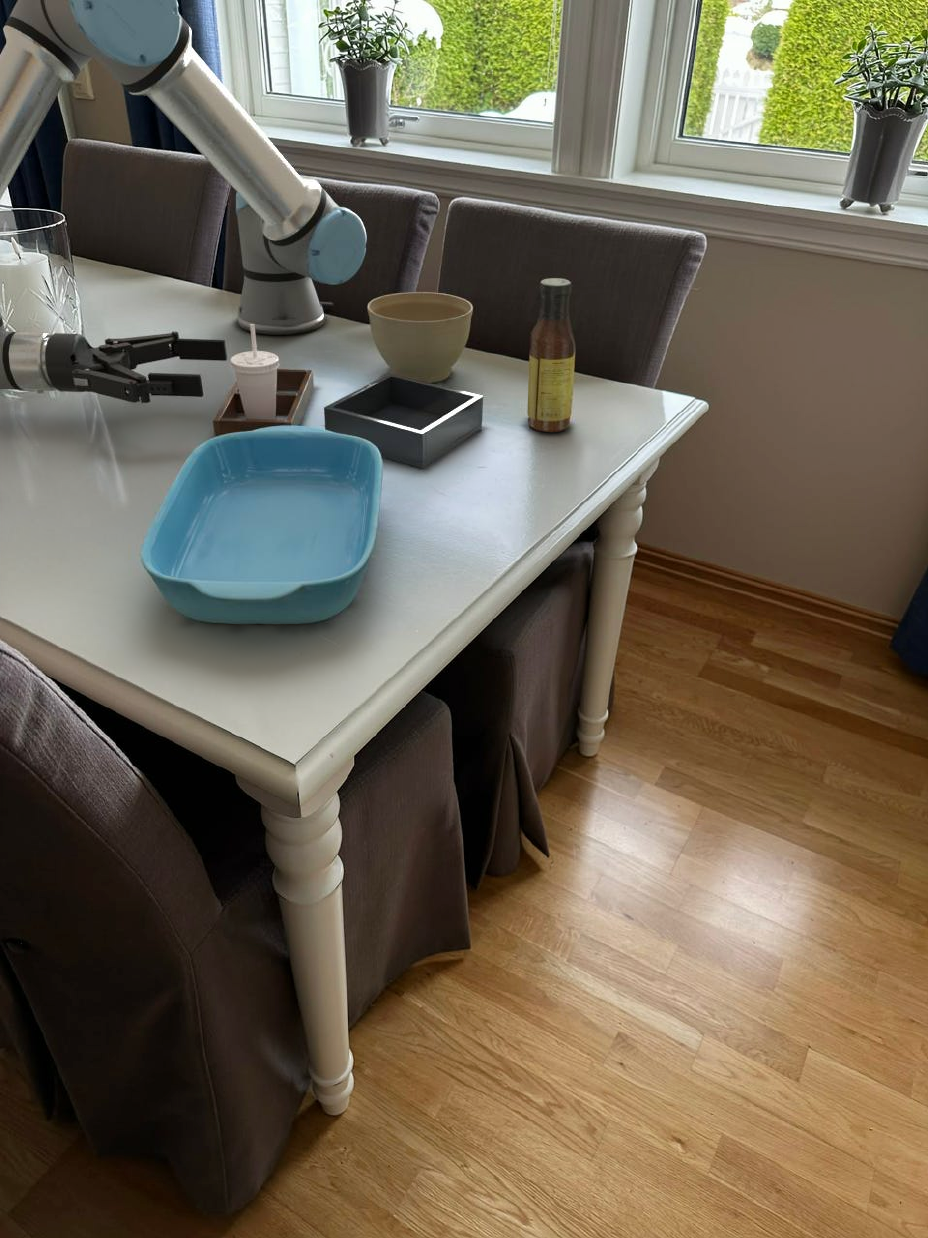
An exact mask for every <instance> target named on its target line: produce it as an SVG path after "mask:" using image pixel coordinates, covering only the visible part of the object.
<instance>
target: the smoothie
mask: <svg viewBox="0 0 928 1238" xmlns="http://www.w3.org/2000/svg"><path fill="white" fill-rule="evenodd" d="M250 329H251V331H250V338H251V349H252V350H250V351H249V350H248V351H243V352H239V353H237V354H234V355H233V356H231V358H230V360H229V361H230V369H231V370H233V372H234V377H235V382H236V381H237V385H238V389H239V393H240V397H241V401H242V405H243V409H244V413H245V414H244V416H245V419H263V420H276V416H277V415H276V393H277V390H276V385H277V369H279V367H280V362H279V361H280V360H279V356H278V355H276V354H275V353H273V352H270V351H266V350H265V351H264V350H258V346H257V337H256V335H257V334H256V333H255V326H254V324H250Z"/></svg>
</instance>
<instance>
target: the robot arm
mask: <svg viewBox="0 0 928 1238" xmlns="http://www.w3.org/2000/svg"><path fill="white" fill-rule="evenodd" d="M2 30H3V35H4V37H5V40H6V43H5V45H4V46H3V48H2V51H1V53H0V200H1V199H2V197H3V196H4V194H5V192H6V190H7V187H8V186H9V184H10V182H11V181H12V179H13V177H14V175H15V174H16V172H17V170H18V168H19V166H20V164H21V162H22V160H23V158H25V155H26V153H27V151H28V150H29V147H30V145H32V142H33V140H34V139H35V137H36V135H37V133H38V132H39V130H40V127H41V126H42V124H43V122H44V120H45V118H46V116H47V115H48V112H49V111H50V109H51V108H52V105H53V103H54V102H55V100H56V98H57V96H58V94H59V92H60V91H61V89H62V87H63V86H64V85H67V84H74V83H75V82H76V80H77V79H78V76H79V74H80V72H81V71H82V69H83V68H84V67H85V66H86V64H87V63H89V62H90V61H91V60H92V59H93V58H94V59H96V60H97V61H98V62H99V63H100V64H101V65H102V66H103V67H104V69H106V70H107V72H109V74H111V76H113V78H114V79H115V80H116V81H117V82H118V83H119V84H120V85H121V86H122V87H123V88H124V89H125V90H126V92H128V93H129V94H130V95H132V96H147V97H148V98H149V100H151V101H152V102H153V104H154V105H156V106H157V108H158V109H159V110H160V111H161V112H162V113H163V114H164V115H165V116H166V117H167V118H168V120H169V121H170V122H171V123H172V124H173V125H174V126H175V127H176V129H178V130H179V132H180V133H182V135H183V136H185V138H186V139H187V140H188V141H189V142H190V144H192V146H194V147H195V148H196V150H197V151H198V152H199V153H200V154H201V155H202V156H203V157H204V158H205V159H206V160H207V162H208V163H210V164H211V166H212V167H213V168H214V169H215V170H216V171H217V172H218V173H219V174H220V175H221V176H222V177H223V178H224V180H225V181H226V182H227V183H228V184H229V185H230V186H231V187H232V188H233V189H234V190H235V192H236V194H235V214H236V216H237V217H236V218H237V226H238V234H239V243H240V252H241V253H240V254H241V262H242V270H243V271H242V272H243V285H242V288H241V295H240V302H239V303H240V304H239V306H238V309H237V319H238V325H239V327H240V328H242V329H244V330H245V331H248V332H251V329H250V324H254V326H255V334H260V335H269V336H271V335H272V336H287V335H288V336H289V335H297V334H298V335H299V334H304V333H307V332H312V331H314V330H317V329H319V328H320V327H321V326H323V325H324V322H325V315H324V309H325V308H327V309H332V308H334V302H328V301H327V302H326V301H320V300H319V297H318V294H317V290H316V288H315V285H314V281H315V282H317V283H319V284H327V285H331V286H334V285H335V286H336V285H340V284H344V283H346V282H347V281H349V280H350V279H351V278H353V277H354V276H355V274H357V273H358V270H359V269H360V268H361V266H362V264H363V263H364V262H363V261H364V259H365V256H366V252H367V248H366V244H367V240H368V239H367V238H368V237H367V232H366V228H365V226H364V225H365V224H364V222H363V221H362V219H361V218H360V217H359V216H358V215H357V214H356V213H355V212H353V211H352V210H351V209H349V208H347V207H344V206H339V205H338V204H337V203H336V202H335V201H334V200H333V198H332V197H331V196H330V195H329V194H328V193H327V191H326V190H325V189H324V188H323V187H322V185H320V183H319V182H318V181H317V179H315V178H313V177H310V176H309V177H308V176H303V177H302V176H300V174H298V172H297V171H296V170H295V169H294V167H293V166H292V165H291V164H290V163H289V162H288V160H287V159H286V158H285V156H283V154H282V153H281V152H280V151H279V149H278V148H277V147H276V146H275V145H274V144H273V142H272V141H271V140H270V139H269V138H268V137H267V135H266V133H264V131H262V129H261V128H260V127H259V126H258V125H257V123H256V122H255V121H254V120H253V118H252V117H251V116H250V115H249V114H248V113H247V112H246V110H245V109H244V108H243V107H242V105H241V104H240V103H239V102H238V101H237V99H236V98H235V97H234V95H232V94H231V93H230V91H229V90H228V89H227V88H226V87H225V85H224V84H223V83H222V82H221V80H220V79H219V78H218V76H216V74H215V73H214V72H213V71H212V69H211V68H210V67H209V66H208V65H207V64H206V62H205V61H204V60H203V59H202V58H201V57H200V55H199V54H198V53H197V52H196V51H195V49H194V48H193V46H192V28H191V27H190V25H189V24H188V22H186V20H185V19H184V18H183V16H182V15H181V14H180V13H179V3H178V0H17V1H16V3H15V5H14V7H13V8H12V11H11V13H10V14H9V16H8V18H7V20H6V22H5V24H4V26H3V28H2ZM313 280H314V281H313ZM323 308H324V309H323ZM3 320H4V319H3V316H2V313H1V311H0V390H6V391H9V390H10V391H13V390H15V391H17V390H18V391H36V392H37V394H44V393H45V391H47V392H54V391H56V390H57V392H61V393H62V392H65V393H66V392H67V393H85V392H86V393H94V394H98V395H102V396H106V397H110V398H114V399H117V400H120V401H125V402H128V403H133V404H136V403H140V402H141V404H149V403H150V402H151V397H150V395H151V396H154V397H155V396H156V397H189V398H190V397H191V398H202V397H204V389H203V388H204V387H203V381H202V374H197V373H166V372H165V373H164V372H163V373H162V372H149V373H148V374H147V376H146V375H144V374H141V373H139V372H136V371H134V370H136V369H137V367H138V366H139V365H144V364H149V363H154V362H159V361H163V360H169V359H173V358H178V357H179V360H185V361H214V362H215V361H217V362H218V361H219V362H226V361H227V360H228V353H227V347H226V340H225V339H207V338H206V339H202V338H180V335H179V331H171V332H168V333H161V334H159V333H158V334H150V335H143V336H141V335H140V336H132V337H125V338H124V337H123V338H109V337H108V338H105V339H104V344H100V345H99V346H97V347H96V346H95V347H93V346H92V345H91V344H90V343H89V341H88V340H87V338H86V337H85V336H84V335H82V334H79V333H65V332H63V333H62V332H55V333H53V334H52V333H50V332H48V331H47V332H45V331H44V332H43V331H39V332H38V331H8V330H6V328H5V325H4V321H3Z"/></svg>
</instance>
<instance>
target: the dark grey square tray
mask: <svg viewBox="0 0 928 1238" xmlns="http://www.w3.org/2000/svg"><path fill="white" fill-rule="evenodd" d="M483 408H484V396H483V395H482V394H481V395H480V394H476V393H472V392H468V391H465V390H460V389H456V388H451V387H448V386H444V385H439V384H436V383H428V382H423V381H419V380H415V379H411V378H407V377H403V376H399V375H395V374H391V372H390V373H387V374H386V375H384V376H382V377H380V378H378V379H376V380H374V381H372V382H369V384H366V385H364V386H362V387H361V388H359V389H356V390H355V391H353V392H351V393H349V394H347V395H345V396H343V397H341V398H339V399H337V400H335V401H334V402H332V403H329V404H328V405H325V406H324V407H323V419H324V430H328V431H331V432H334V433H339V434H345V435H350V436H355V437H359V438H362V439H365V440H367V441H369V442H371V443H373V444H374V445H375V446H376V447H377V448H378V450H379V452H380V454H381V458H384V459H388V460H391V461H395V462H399V463H402V464H406V465H409V466H411V467H416V468H418V469H421V470H422V469H425V468H426V467H427V466H429V465H431V464H432V463H433V462H435V461H436V460H437V459H439V458H440V457H442V456H444V455H445V454H446V453H448V452H449V451H451V450H452V449H454V448H455V447H456V446H458V445H460V444H461V443H463V442H464V441H466V440H467V439H468V438H470V437H471V436H473V435H474V434H476V433H478V432H479V431H480V430H482V429H483V415H484V414H483V413H484V409H483Z"/></svg>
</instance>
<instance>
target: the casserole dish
mask: <svg viewBox="0 0 928 1238" xmlns="http://www.w3.org/2000/svg"><path fill="white" fill-rule="evenodd" d="M382 458H383V457H381V454H380V452H379V450H378V448H377V447H376V446H375V445H374V444H373V443H371V442H369V441H367V440H365V439H362V438H359V437H355V436H350V435H345V434H339V433H334V432H331V431H328V430H325V428H320V427H316V426H310V425H300V426H273V427H266V428H261V429H257V430H253V431H247V432H237V433H230V434H225V435H221V436H218V437H215V436H214V437H212V438H209V439H207V440H206V441H204V442H202V443H201V444H200V445H198V446H197V447H195V449H194V450H193V451H192V452H191V453H190V454H189V456H187V459H186V460H185V462H184V463H183V464H182V466H181V468H180V470H179V472H177V475H176V477H175V479H174V481H173V483H172V485H171V487H170V488H169V490H168V492H167V493H166V496H165V498H164V500H163V501H162V503H161V505H160V507H159V509H158V510H157V513H156V514H155V516H154V518H153V520H152V521H151V523H150V525H149V527H148V530H147V532H146V534H145V536H144V539H143V540H142V541H143V542H142V544H141V548H140V560H141V561H140V562H141V564H142V567H144V570H146V572H147V574H148V575H149V576H150V577H151V579H152V580H153V582H154V584H155V585H156V587H157V589H158V590H159V592H160V593H161V595H162V596H163V597H164V599H165V600H166V601H167V603H168V604H169V605H170V606H171V607H172V608H173V609H174V610H176V611H177V612H178V613H179V614H181V615H183V616H185V617H187V618H189V619H192V620H196V621H199V622H205V623H211V624H226V625H227V624H230V625H257V624H259V625H260V624H261V625H303V624H304V625H305V624H313V623H318V622H321V621H325V620H328V619H330V618H333V617H334V616H336V615H339V614H340V613H341V612H343V611H344V610H345V609H346V608H347V607H348V606H349V605H351V604H352V602H353V601H354V599H355V598H356V596H357V594H358V592H359V590H360V588H361V586H362V583H363V581H364V578H365V576H366V574H367V569H368V566H369V564H370V559H371V557H372V554H373V552H374V550H375V546H376V541H377V536H378V528H379V520H380V519H379V518H380V510H381V509H380V508H381V497H382V486H383V476H384V475H383V473H384V471H383V470H384V467H383V465H384V463H383V459H382Z"/></svg>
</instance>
